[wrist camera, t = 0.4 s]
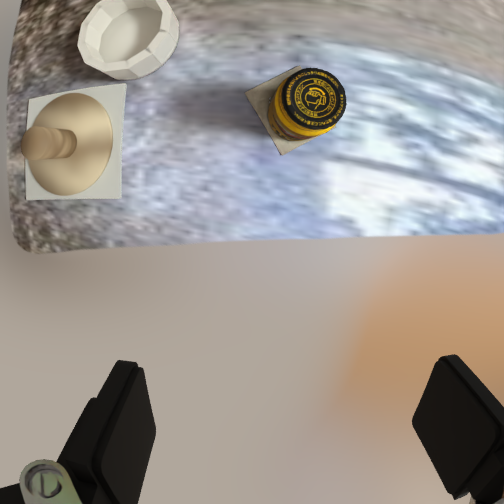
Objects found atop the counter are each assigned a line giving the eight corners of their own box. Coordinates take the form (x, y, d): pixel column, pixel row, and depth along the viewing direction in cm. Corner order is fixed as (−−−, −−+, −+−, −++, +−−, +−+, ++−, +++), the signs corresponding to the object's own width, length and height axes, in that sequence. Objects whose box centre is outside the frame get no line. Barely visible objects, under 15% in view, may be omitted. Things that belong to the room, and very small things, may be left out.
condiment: (281, 155, 35) (299, 153, 23) (244, 93, 33) (244, 62, 21) (335, 127, 34) (375, 114, 22) (299, 66, 32) (323, 27, 20)
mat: (31, 99, 31) (29, 99, 31) (126, 84, 32) (124, 83, 31) (28, 199, 35) (26, 200, 34) (121, 197, 36) (119, 198, 35)
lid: (34, 101, 31) (-2, 95, 23) (116, 88, 31) (88, 73, 24) (31, 196, 34) (-5, 205, 27) (112, 194, 35) (81, 203, 27)
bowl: (103, 11, 28) (88, -3, 24) (184, 0, 29) (176, -18, 24) (91, 85, 31) (72, 77, 27) (174, 77, 32) (164, 65, 27)
